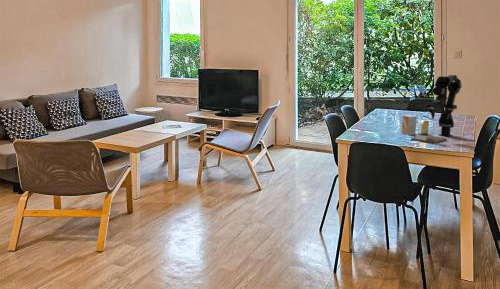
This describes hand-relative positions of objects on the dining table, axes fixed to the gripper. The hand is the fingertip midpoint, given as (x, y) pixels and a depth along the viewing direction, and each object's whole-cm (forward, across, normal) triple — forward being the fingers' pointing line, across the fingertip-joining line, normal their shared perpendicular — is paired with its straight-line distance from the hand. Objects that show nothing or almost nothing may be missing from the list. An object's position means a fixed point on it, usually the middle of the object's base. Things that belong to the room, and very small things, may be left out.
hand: (439, 119), depth 298 cm
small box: (+12, -24, +5) cm, 28 cm away
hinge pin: (+13, -5, -9) cm, 17 cm away
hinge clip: (+13, -5, -9) cm, 17 cm away
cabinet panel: (+14, -4, -5) cm, 15 cm away
